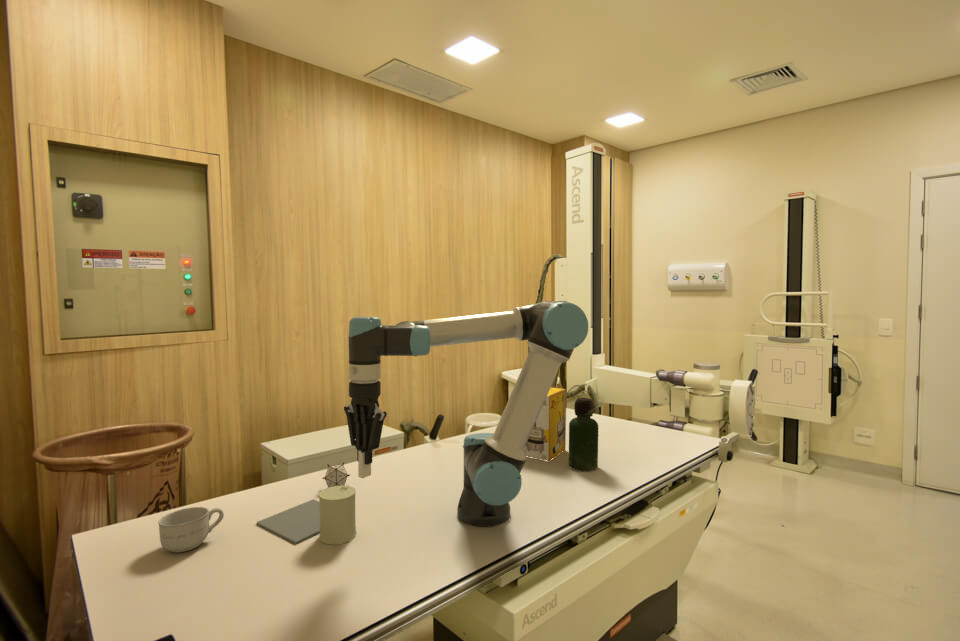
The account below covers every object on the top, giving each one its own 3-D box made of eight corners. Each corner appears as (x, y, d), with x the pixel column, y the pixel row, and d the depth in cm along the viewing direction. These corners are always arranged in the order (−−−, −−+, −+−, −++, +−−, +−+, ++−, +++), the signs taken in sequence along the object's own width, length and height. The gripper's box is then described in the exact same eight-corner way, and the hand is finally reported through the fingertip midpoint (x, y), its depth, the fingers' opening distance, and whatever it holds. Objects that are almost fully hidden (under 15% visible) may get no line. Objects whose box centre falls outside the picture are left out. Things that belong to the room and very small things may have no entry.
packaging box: (565, 450, 193) (566, 389, 192) (548, 462, 179) (549, 396, 178) (529, 443, 202) (529, 384, 200) (510, 454, 188) (511, 391, 187)
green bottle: (565, 469, 172) (566, 401, 170) (571, 460, 181) (572, 395, 180) (595, 474, 168) (596, 403, 166) (599, 464, 177) (600, 397, 176)
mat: (352, 517, 135) (352, 515, 134) (295, 544, 120) (295, 542, 120) (313, 501, 145) (313, 499, 145) (256, 524, 130) (256, 522, 130)
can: (363, 530, 127) (362, 486, 127) (342, 547, 118) (341, 500, 118) (333, 524, 130) (333, 481, 130) (311, 541, 121) (310, 495, 121)
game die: (339, 502, 153) (339, 484, 147) (316, 490, 154) (315, 473, 148) (354, 480, 160) (355, 462, 154) (332, 469, 161) (333, 451, 155)
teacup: (156, 562, 112) (155, 529, 111) (162, 541, 121) (161, 510, 121) (223, 548, 118) (223, 516, 118) (224, 528, 128) (223, 499, 127)
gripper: (334, 379, 116) (335, 474, 118) (371, 386, 109) (371, 487, 110) (358, 375, 123) (358, 465, 124) (395, 381, 115) (394, 477, 116)
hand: (364, 475), depth 117 cm, fingers closed
